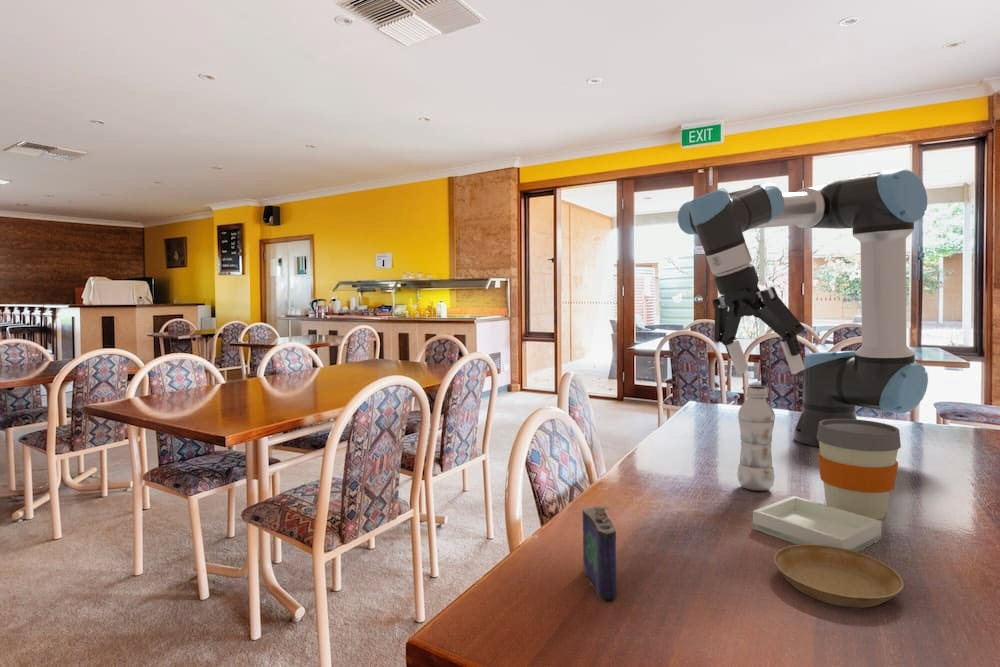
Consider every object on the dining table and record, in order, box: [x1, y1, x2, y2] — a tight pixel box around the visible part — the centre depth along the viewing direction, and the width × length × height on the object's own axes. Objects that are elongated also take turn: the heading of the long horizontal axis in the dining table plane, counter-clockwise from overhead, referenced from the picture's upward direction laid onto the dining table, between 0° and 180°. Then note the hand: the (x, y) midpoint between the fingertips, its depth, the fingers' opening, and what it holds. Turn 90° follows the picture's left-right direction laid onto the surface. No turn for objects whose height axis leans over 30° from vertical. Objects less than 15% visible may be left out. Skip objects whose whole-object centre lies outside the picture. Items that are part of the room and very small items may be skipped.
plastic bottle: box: [736, 385, 776, 492], centre depth 115 cm, size 6×7×20 cm
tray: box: [752, 495, 883, 553], centre depth 94 cm, size 12×14×3 cm
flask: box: [582, 505, 618, 603], centre depth 78 cm, size 9×3×11 cm, turn 8°
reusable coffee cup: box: [817, 419, 902, 520], centre depth 103 cm, size 13×13×15 cm
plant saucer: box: [773, 544, 904, 609], centre depth 78 cm, size 15×15×3 cm
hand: (769, 372), depth 115 cm, fingers open, 13 cm apart
